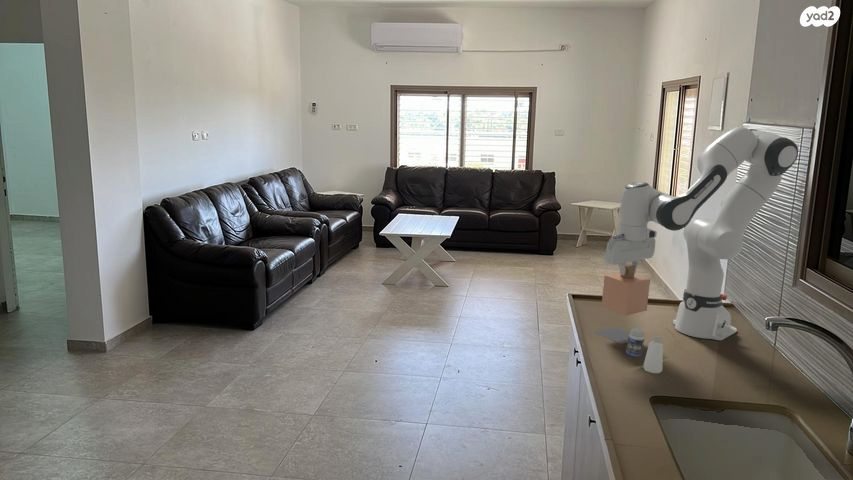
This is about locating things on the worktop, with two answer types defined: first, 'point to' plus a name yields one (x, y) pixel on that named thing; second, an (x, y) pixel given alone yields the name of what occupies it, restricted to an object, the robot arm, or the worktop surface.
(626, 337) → the mat
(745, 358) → the worktop surface
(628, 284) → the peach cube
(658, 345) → the pepper shaker
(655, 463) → the worktop surface
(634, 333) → the pill bottle
